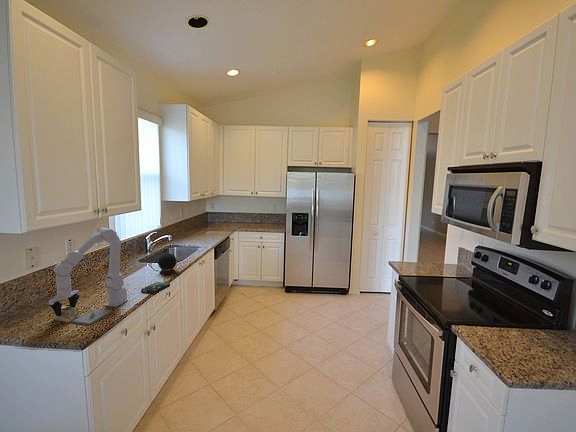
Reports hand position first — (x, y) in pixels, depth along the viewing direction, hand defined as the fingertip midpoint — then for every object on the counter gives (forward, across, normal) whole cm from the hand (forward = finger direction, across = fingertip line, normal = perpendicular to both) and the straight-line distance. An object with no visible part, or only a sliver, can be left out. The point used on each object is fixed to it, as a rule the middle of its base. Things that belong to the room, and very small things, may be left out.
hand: (65, 312), depth 148 cm
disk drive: (+4, -46, +18) cm, 50 cm away
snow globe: (+3, -78, +5) cm, 78 cm away
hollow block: (+3, 0, 0) cm, 3 cm away
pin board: (+3, -4, +12) cm, 13 cm away
